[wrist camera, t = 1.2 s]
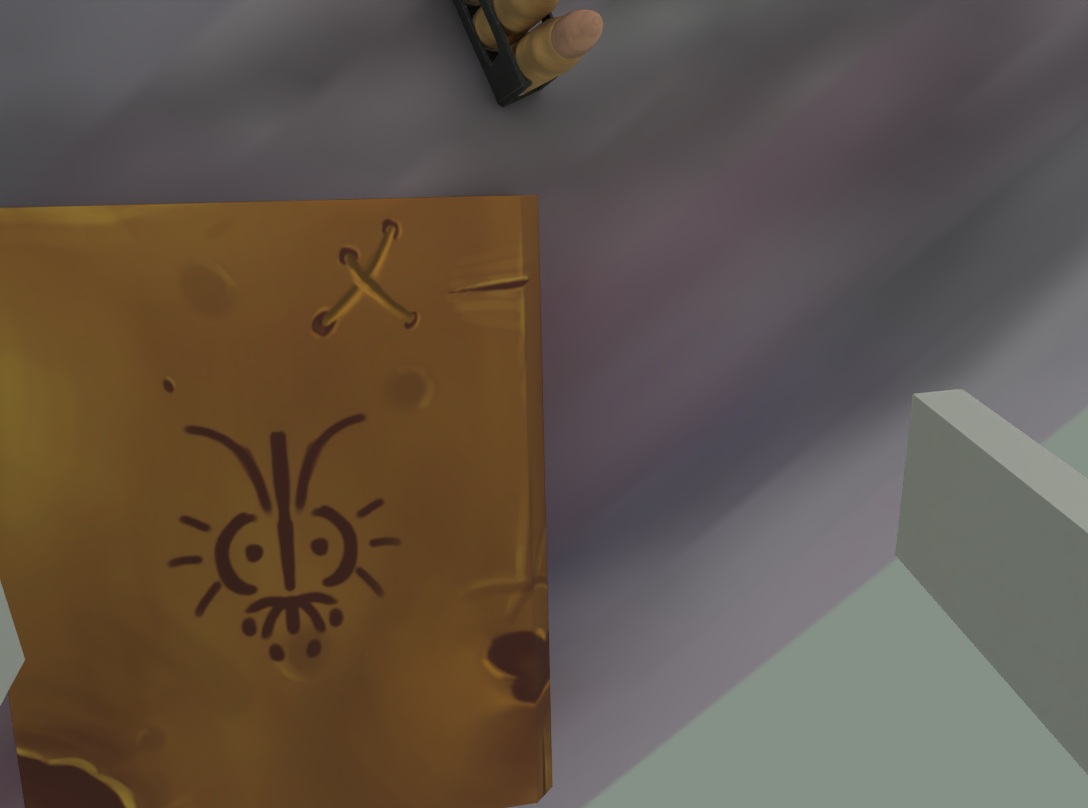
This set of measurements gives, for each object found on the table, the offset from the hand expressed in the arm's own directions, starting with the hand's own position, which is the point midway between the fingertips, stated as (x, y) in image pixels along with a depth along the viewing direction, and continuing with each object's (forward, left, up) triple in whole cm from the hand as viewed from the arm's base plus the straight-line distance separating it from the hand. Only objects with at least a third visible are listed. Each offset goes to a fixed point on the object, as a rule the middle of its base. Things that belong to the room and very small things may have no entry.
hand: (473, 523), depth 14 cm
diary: (+6, -6, -26) cm, 27 cm away
